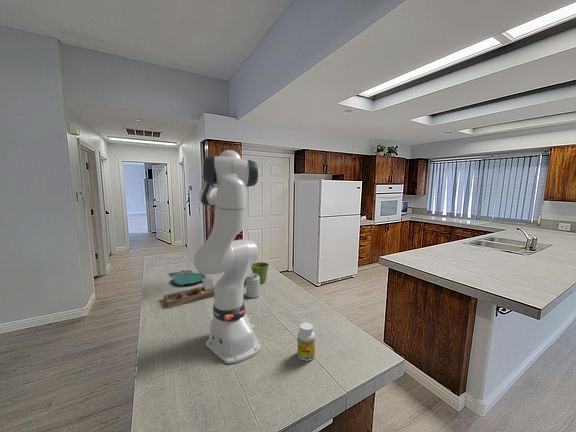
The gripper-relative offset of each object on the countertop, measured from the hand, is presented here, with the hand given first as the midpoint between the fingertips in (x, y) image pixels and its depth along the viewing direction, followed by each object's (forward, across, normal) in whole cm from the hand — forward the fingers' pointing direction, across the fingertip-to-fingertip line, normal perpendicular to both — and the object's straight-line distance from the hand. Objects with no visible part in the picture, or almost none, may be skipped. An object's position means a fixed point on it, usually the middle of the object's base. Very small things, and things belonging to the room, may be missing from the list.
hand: (224, 232), depth 143 cm
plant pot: (+33, -5, -21) cm, 40 cm away
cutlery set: (+34, +28, +15) cm, 46 cm away
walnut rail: (+33, -3, +20) cm, 39 cm away
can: (+33, -20, -8) cm, 40 cm away
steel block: (+33, -3, +12) cm, 35 cm away
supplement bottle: (+33, -74, 0) cm, 81 cm away
